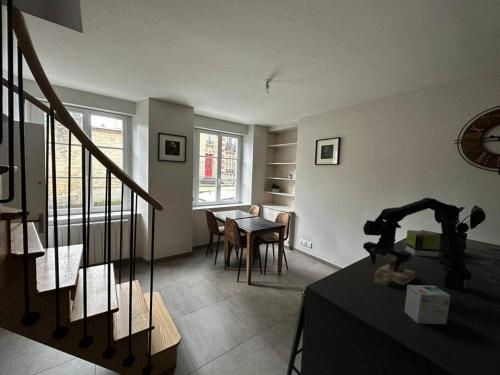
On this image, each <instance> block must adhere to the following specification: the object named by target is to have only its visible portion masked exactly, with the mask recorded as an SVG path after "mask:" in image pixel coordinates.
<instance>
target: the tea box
mask: <svg viewBox="0 0 500 375" xmlns="http://www.w3.org/2000/svg"><path fill="white" fill-rule="evenodd" d="M438 234H439V233H435V232H432V231H429V230H428V231H427V230H417V229H415V230H413V229H412V230H411V229H408V230H407V231H406V240H405V241H406V242H405V252H408V253H410V254H411V255H413V256H422V257H434V258H439V256H440V254H439V253H440V251H439V247H440V235H438Z"/></svg>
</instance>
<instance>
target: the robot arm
mask: <svg viewBox="0 0 500 375" xmlns="http://www.w3.org/2000/svg"><path fill="white" fill-rule="evenodd" d="M428 209H429V210H432V211H434V215H435V217H436V218H437V220H438V221H439V222H440V226H441V227H440V228H441V233H442V236H443V243H444V251H445V252H443V253H442V255H439V256H438V258H439V264H440V265H441V267H442V268H443V271H445V272H446V274H444V279H443V284H444V285H443V286H444V287H446V288H449V289H452V290H454V291H457V292H460V293H463V292H464V291H465V289H466V281H468V280H471V278H472V274H471V273H470V271H469V270H468V268H467V266H466V263H465V259H464V258H463V257H462V256H461V253H460V254H459V250H458V242H457V236H458V234H457V228H456V227H457V226H456V223H457V222H458V220H459V218H460V208H459V207H458V206H457V205H453V204H447V203H445V202H443V201H440V200H437V199H436V198H430V197H424V198H423V199H420V200H416V201H413V202H411V203H408V204H406V205H402V206H399V207H398V206H397V207H388V208H383V209H382V210H381V213H380V214H379V215H378V216H377V217H376V218H375V219H374V220H370V219H368V220H366V222H365V223H364V225H363V229H362V230H363V233H364V235H366V236H377V237H378V236H380V237H379V238H378V241H377V242H374V241H373V242H372V241H367V242H364V243H363V246H362V248H363V249H364V250H365V252H368V254H369V256H370V258H371V263H372V265H373V266H375V264H376V261H377V255H381V257H386V256H387V255H390V256H391V255H392V256H394V257H396V265H395V269H394V273H396V272H397V270H398V269H399V267H400V265H401V264H402V263H404V262H405V263H408V262H410V261H412V258H413V256H412V255H413V254H411V253H410V252H408V251H404V250H401V251H396V250H395V243H396V234H397V233H396V232H397V229H402V226H401V225H400V224H399V222H401V221H403V220H404V218H406V217H408V216H410V215H414V214H416V213H419V212H423V211H425V210H428Z"/></svg>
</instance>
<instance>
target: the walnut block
mask: <svg viewBox="0 0 500 375" xmlns="http://www.w3.org/2000/svg"><path fill="white" fill-rule="evenodd" d="M396 259H397V257H393V258H390V259H389V269H390V270H392V271H394V269H395V265H396ZM405 265H406V262H404V263H402V264H401V265H400V267H399V269H398V270H397V272H398V273H401V272H403V271H404V269H405Z"/></svg>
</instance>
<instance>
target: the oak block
mask: <svg viewBox="0 0 500 375" xmlns="http://www.w3.org/2000/svg"><path fill="white" fill-rule="evenodd" d="M374 272H375V274H374V282H375V283H377V284H380V285H382V286H384V287H387V286H389V285H390V284H391V281H392V280H391V273H390V272H387V271H384V270H382V269H379V270H376V271H374Z"/></svg>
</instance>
